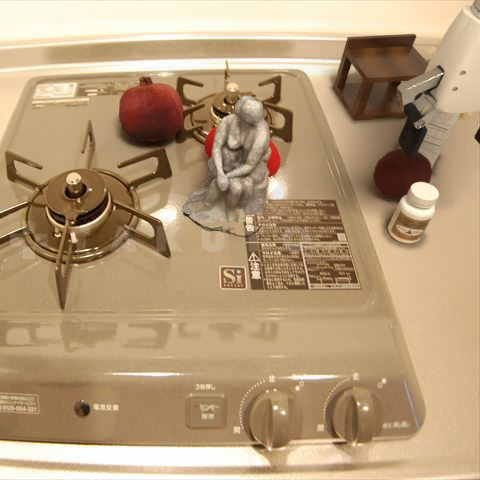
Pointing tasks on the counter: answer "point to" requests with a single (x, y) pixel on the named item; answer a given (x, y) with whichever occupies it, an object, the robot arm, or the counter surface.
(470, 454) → the counter surface
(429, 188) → the pill bottle
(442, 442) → the counter surface
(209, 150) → the heart
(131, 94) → the fruit
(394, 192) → the potato
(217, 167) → the sculpture
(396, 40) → the rack
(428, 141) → the syrup box
